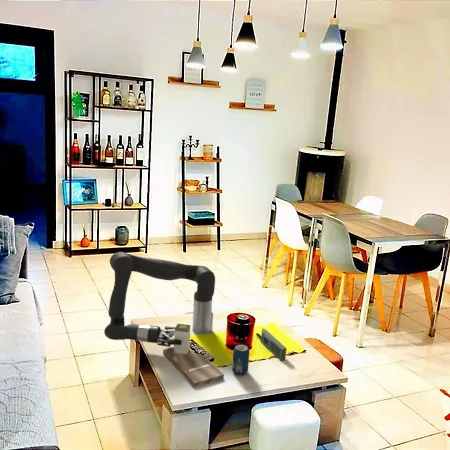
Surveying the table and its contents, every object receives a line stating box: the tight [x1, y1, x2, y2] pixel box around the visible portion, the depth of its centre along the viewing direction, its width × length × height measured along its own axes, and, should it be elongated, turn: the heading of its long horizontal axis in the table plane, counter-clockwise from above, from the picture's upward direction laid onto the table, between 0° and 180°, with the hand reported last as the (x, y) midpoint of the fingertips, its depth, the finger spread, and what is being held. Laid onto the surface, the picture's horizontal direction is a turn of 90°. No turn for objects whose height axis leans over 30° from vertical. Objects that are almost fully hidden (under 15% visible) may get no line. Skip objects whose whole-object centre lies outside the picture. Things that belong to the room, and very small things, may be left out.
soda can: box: [231, 343, 250, 377], centre depth 202 cm, size 7×7×12 cm
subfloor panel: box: [162, 346, 225, 388], centre depth 206 cm, size 14×30×2 cm, turn 32°
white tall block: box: [173, 323, 191, 354], centre depth 213 cm, size 5×6×12 cm
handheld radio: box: [255, 327, 287, 362], centre depth 225 cm, size 7×3×25 cm
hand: (183, 338), depth 212 cm, fingers open, 8 cm apart
